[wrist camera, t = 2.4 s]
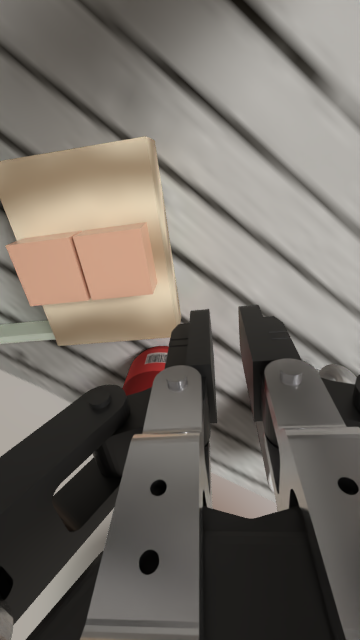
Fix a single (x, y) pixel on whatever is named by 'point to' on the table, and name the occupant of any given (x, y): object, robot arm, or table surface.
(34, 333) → the tray
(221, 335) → the table surface
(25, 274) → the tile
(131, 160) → the plate
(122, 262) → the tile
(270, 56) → the table surface
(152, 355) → the canned food
